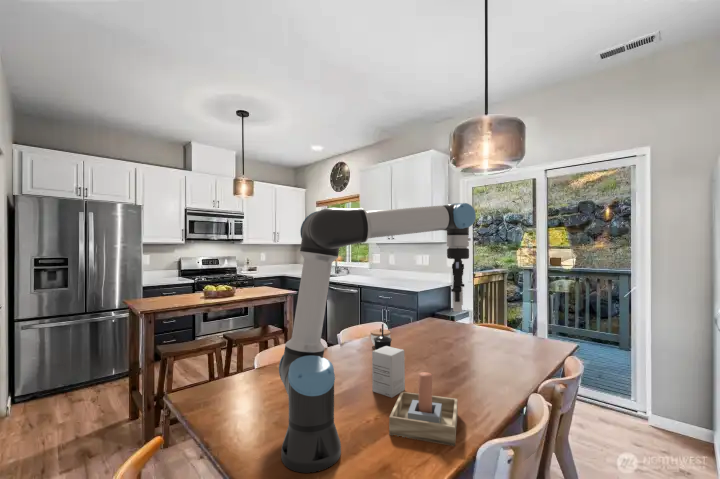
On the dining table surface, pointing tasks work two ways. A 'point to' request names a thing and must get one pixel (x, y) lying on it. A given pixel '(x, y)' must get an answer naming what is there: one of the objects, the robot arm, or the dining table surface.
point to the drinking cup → (382, 341)
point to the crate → (424, 429)
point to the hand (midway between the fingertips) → (458, 308)
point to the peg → (425, 392)
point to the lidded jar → (379, 334)
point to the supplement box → (388, 371)
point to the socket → (423, 416)
